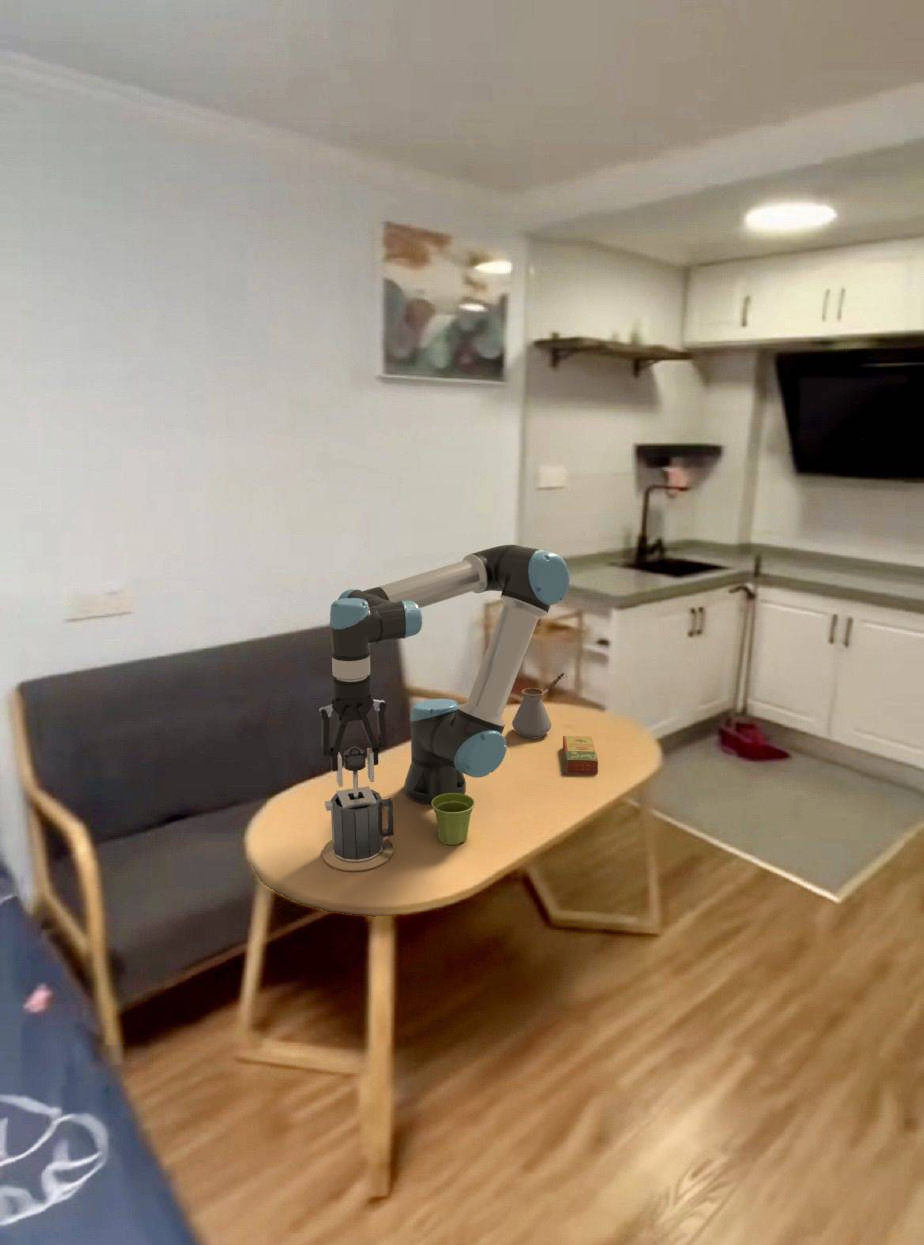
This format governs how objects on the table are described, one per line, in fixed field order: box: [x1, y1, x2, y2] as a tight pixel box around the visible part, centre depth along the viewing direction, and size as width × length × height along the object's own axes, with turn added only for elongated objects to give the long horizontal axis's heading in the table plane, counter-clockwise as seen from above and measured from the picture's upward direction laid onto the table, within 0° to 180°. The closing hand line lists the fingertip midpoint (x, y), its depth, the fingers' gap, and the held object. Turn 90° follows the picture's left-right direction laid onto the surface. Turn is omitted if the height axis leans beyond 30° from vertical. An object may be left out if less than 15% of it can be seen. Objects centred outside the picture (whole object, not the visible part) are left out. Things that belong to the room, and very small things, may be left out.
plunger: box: [343, 746, 367, 809], centre depth 165 cm, size 7×7×21 cm
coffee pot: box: [511, 672, 568, 739], centre depth 233 cm, size 21×12×15 cm, turn 136°
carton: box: [562, 735, 599, 775], centre depth 213 cm, size 8×16×4 cm, turn 177°
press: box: [321, 785, 395, 873], centre depth 167 cm, size 15×15×13 cm
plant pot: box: [430, 793, 475, 846], centre depth 173 cm, size 9×9×9 cm
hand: (355, 781), depth 165 cm, fingers open, 6 cm apart
